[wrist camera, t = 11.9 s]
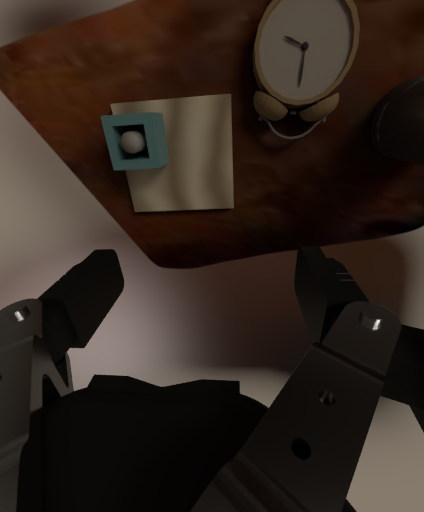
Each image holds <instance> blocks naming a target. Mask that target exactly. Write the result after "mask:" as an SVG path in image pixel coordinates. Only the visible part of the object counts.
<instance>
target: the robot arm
mask: <svg viewBox="0 0 424 512" xmlns="http://www.w3.org/2000/svg"><path fill="white" fill-rule="evenodd" d="M370 137H371V141H372V144H373V146H374V147H375V149H376V150H377V151H378V152H379V153H381V154H382V155H385V156H387V157H391V158H395V159H399V160H403V161H406V162H410V163H414V164H418V165H423V166H424V76H422V77H418V78H414V79H411V80H407V81H405V82H403V83H401V84H399V85H398V86H396V87H395V88H394V89H392V90H391V91H390V92H389V93H388V94H387V95H386V96H385V97H384V98H383V99H382V101H381V102H380V104H379V105H378V107H377V109H376V110H375V112H374V114H373V118H372V121H371V126H370ZM294 282H295V293H296V296H297V298H298V302H299V305H300V308H301V311H302V314H303V317H304V320H305V323H306V326H307V329H308V332H309V335H310V338H311V341H312V344H313V345H312V346H311V347H310V349H309V350H308V352H307V353H306V354H305V356H304V357H303V359H302V360H301V362H300V364H299V365H298V366H297V368H296V369H295V371H294V372H293V374H292V375H291V376H290V378H289V379H288V381H287V382H286V384H285V385H284V387H283V388H282V390H281V391H280V393H279V394H278V396H277V397H276V399H275V400H274V401H273V403H272V404H271V406H270V407H269V408H268V407H266V406H265V405H263V404H262V403H260V402H258V401H256V400H254V399H252V398H250V397H248V396H245V395H242V394H240V386H239V385H240V384H239V381H226V380H204V379H202V380H196V381H192V382H186V383H181V384H176V385H171V386H166V387H160V386H156V385H153V384H150V383H147V382H144V381H141V380H138V379H135V378H132V377H129V376H114V375H94V376H93V378H92V380H91V382H90V383H89V385H88V387H87V388H83V389H80V390H77V391H74V390H73V383H72V374H71V367H70V359H69V356H68V354H67V351H68V349H69V348H84V347H85V346H86V345H87V343H88V342H89V340H90V339H91V337H92V336H93V334H94V333H95V331H96V330H97V328H98V327H99V325H100V324H101V322H102V321H103V319H104V318H105V316H106V315H107V313H108V312H109V311H110V309H111V308H112V306H113V305H114V303H115V302H116V300H117V299H118V297H119V296H120V294H121V293H122V291H123V288H124V278H123V274H122V271H121V267H120V264H119V260H118V257H117V254H116V252H115V251H114V250H113V249H105V250H104V249H103V250H95V251H93V252H92V253H91V254H90V255H89V256H88V257H87V258H86V259H85V260H83V261H82V262H81V263H79V264H77V265H75V266H73V267H72V268H71V269H70V270H69V271H68V272H67V273H66V275H63V276H62V277H61V278H60V279H59V281H57V282H56V283H54V285H52V286H51V287H50V288H49V289H48V290H47V291H45V292H44V293H43V294H42V295H41V296H40V297H39V298H38V299H25V300H21V301H18V302H15V303H13V304H11V305H9V306H7V307H5V308H3V309H2V310H0V512H356V510H355V509H354V508H353V507H352V505H351V504H350V503H349V502H348V500H347V499H346V496H347V493H348V490H349V487H350V484H351V481H352V478H353V475H354V472H355V469H356V466H357V463H358V460H359V457H360V454H361V451H362V448H363V445H364V442H365V439H366V436H367V434H368V430H369V427H370V425H371V422H372V418H373V415H374V412H375V409H376V406H377V404H378V401H379V398H380V396H383V397H386V398H389V399H392V400H395V401H398V402H401V403H404V404H407V405H409V406H410V408H411V409H412V411H413V413H414V415H415V417H416V419H417V421H418V422H419V424H420V426H421V428H422V430H423V432H424V330H423V329H419V328H414V327H410V326H406V325H402V324H401V322H400V320H399V319H398V317H397V316H396V315H395V314H394V313H393V312H391V311H390V310H388V309H386V308H385V307H383V306H380V305H378V304H375V303H371V302H369V300H368V299H367V297H366V296H365V295H364V293H363V292H362V290H361V289H360V288H359V286H358V285H357V284H356V282H355V281H353V278H352V277H351V275H350V274H349V273H348V271H347V270H346V268H345V267H344V266H343V265H342V264H341V263H340V262H338V261H336V260H335V259H333V258H326V257H325V255H324V254H323V252H322V250H321V249H320V247H318V246H316V247H299V249H298V253H297V262H296V271H295V280H294Z"/></svg>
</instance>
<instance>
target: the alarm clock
mask: <svg viewBox="0 0 424 512" xmlns="http://www.w3.org/2000/svg"><path fill="white" fill-rule="evenodd" d="M359 30H360V24H359V19H358V14H357V9H356V5H355V4H354V2H353V0H273V1H272V2H271V3H270V4H269V6H268V7H267V9H266V11H265V13H264V15H263V17H262V20H261V22H260V24H259V26H258V31H257V35H256V40H255V44H254V49H253V54H252V56H253V72H254V75H255V78H256V81H257V84H258V87H259V88H260V90H261V91H262V92H260V91H256V92H255V95H254V99H253V102H254V107H255V109H256V111H257V112H258V113H259V114H260V117H259V120H260V121H262V120H263V119H264V120H265V121H266V122H267V124H268V126H269V127H270V129H271V131H272V132H273V133H274V134H275V135H277V136H278V137H281V138H284V139H296V138H300V137H303V136H304V135H306V134H308V133H309V132H310V131H311V130H312V129H313V128H314V127H315V126H316V125H317V124H318V123H319V122H320V121H321V122H322V123H324V122H325V121H326V118H327V117H326V116H327V115H329V114H330V113H331V112H332V111H333V110H334V109H335V108H336V106H337V104H338V101H339V92H338V93H336V94H334V95H332V96H330V97H328V98H326V99H324V100H322V101H321V102H319V99H321V98H323V97H325V96H327V95H328V94H329V93H330V92H331V91H332V90H333V89H334V88H335V87H336V86H338V85H339V84H340V83H341V81H342V80H343V78H344V77H345V75H346V73H347V72H348V70H349V69H350V67H351V65H352V62H353V60H354V57H355V54H356V51H357V48H358V41H359ZM315 101H316V103H317V104H315V105H313V106H311V107H309V108H307V109H305V110H303V111H301V112H299V115H300V117H301V118H302V119H303V120H304V121H307V122H312V121H317V120H318V121H317V122H315V123H314V124H313V125H312V126H311V127H310V128H309V129H308V130H307V131H306V132H304V133H303V134H301V135H298V136H293V137H289V136H284V135H281V134H279V133H278V132H276V131H275V130H274V128H273V127H272V125H271V124H270V122H269V121H268V120H272V121H277V120H280V119H282V118H283V117H284V116H285V115H286V114H287V112H288V110H287V109H286V108H291V109H292V108H293V111H291V112H290V114H294V115H296V111H294V108H298V107H305V106H307V105H309V104H311V103H313V102H315ZM285 107H286V108H285ZM267 119H268V120H267Z"/></svg>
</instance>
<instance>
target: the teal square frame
mask: <svg viewBox="0 0 424 512" xmlns="http://www.w3.org/2000/svg"><path fill="white" fill-rule="evenodd" d="M101 121H102V125H103V129H104V133H105V137H106V141H107V145H108V149H109V153H110V157H111V161H112V165H113V170H133V169H151V168H161V167H162V166H164V165H165V164H167V163H168V162H169V157H168V149H167V142H166V135H165V128H164V121H163V113H156V112H146V113H133V114H120V115H107V116H101ZM138 124H144V129H145V135H146V140H147V146H148V152H149V155H136V156H134V153H128V152H126V151H125V150H124V149H123V148H122V146H121V142H120V140H121V136H122V135H123V134H124V133H125V132H129V127H128V125H138Z"/></svg>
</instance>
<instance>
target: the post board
mask: <svg viewBox="0 0 424 512" xmlns="http://www.w3.org/2000/svg"><path fill="white" fill-rule="evenodd" d="M111 108H112V113H113V115H120V114H133V113H146V112H156V113H163V121H164V128H165V135H166V142H167V149H168V157H169V162H168V163H167V164H165V165H164V166H162V167H161V168H151V169H133V170H126V175H127V179H128V184H129V188H130V193H131V197H132V201H133V206H134V210H135V212H149V211H174V210H199V209H224V208H234V199H233V159H232V118H231V94H221V95H210V96H198V97H186V98H175V99H163V100H151V101H140V102H128V103H117V104H111ZM128 127H129V132H125V133H124V134H123V135H122V136H121V140H120V142H121V146H122V148H123V149H124V150H125V151H126V152H128V153H134V156H136V155H149V152H148V146H147V140H146V135H145V129H144V124H138V125H128Z"/></svg>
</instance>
